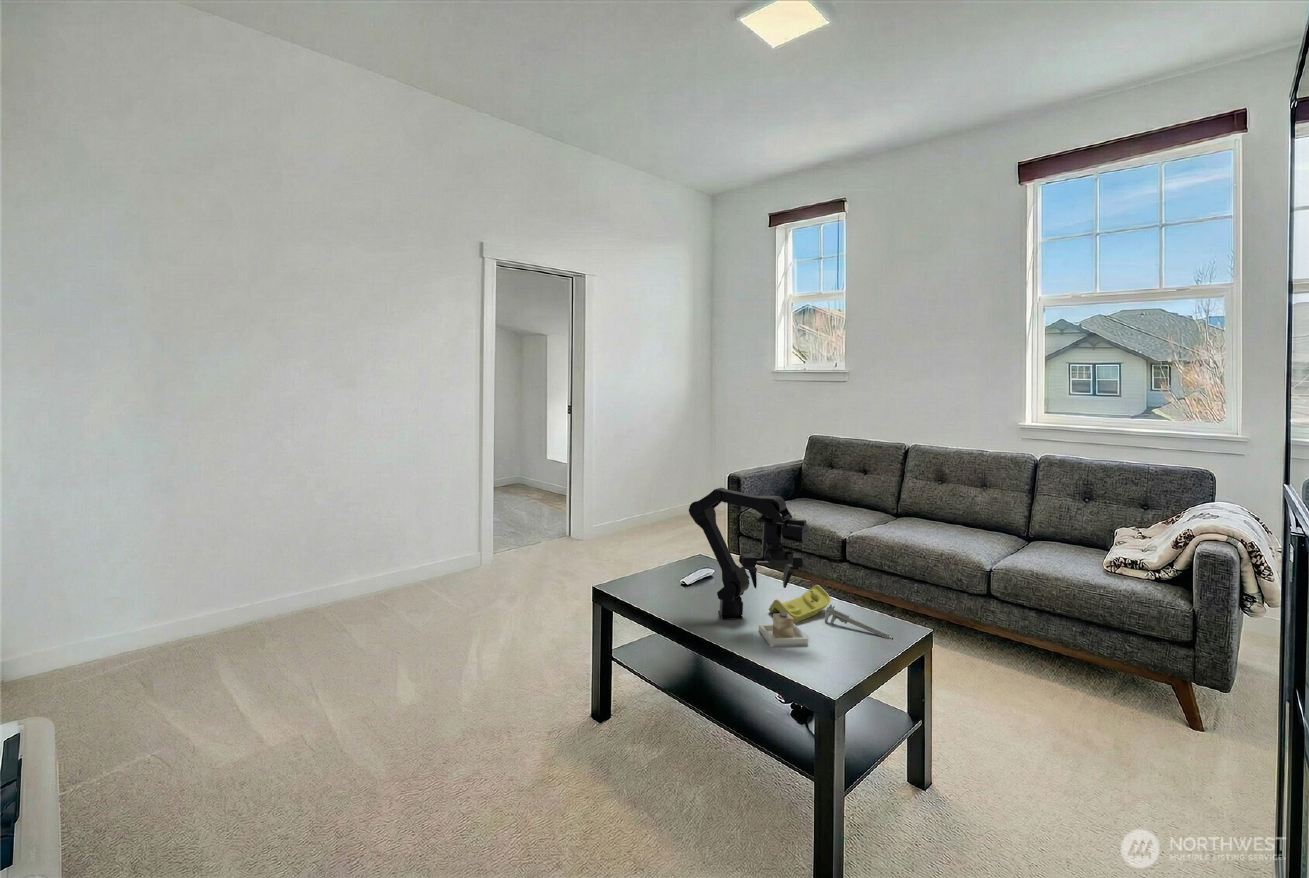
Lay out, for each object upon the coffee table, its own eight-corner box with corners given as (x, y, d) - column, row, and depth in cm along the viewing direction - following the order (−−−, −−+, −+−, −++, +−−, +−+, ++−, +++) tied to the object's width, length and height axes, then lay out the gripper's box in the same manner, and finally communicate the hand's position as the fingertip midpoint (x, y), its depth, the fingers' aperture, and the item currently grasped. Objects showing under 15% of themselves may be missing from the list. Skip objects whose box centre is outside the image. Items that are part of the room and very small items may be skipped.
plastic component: (794, 618, 184) (773, 596, 191) (787, 635, 188) (766, 612, 194) (836, 601, 195) (814, 581, 202) (828, 617, 199) (807, 597, 205)
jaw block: (777, 639, 172) (778, 615, 171) (772, 633, 176) (773, 610, 176) (792, 639, 172) (793, 615, 172) (787, 632, 177) (788, 609, 176)
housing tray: (770, 646, 168) (770, 639, 168) (758, 631, 179) (758, 624, 179) (807, 645, 170) (808, 638, 169) (793, 629, 180) (794, 623, 180)
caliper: (824, 623, 187) (825, 603, 186) (825, 622, 188) (826, 602, 187) (892, 640, 175) (893, 619, 174) (893, 639, 176) (894, 618, 175)
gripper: (749, 544, 172) (746, 597, 174) (811, 545, 174) (808, 597, 176) (739, 535, 183) (737, 584, 185) (798, 535, 185) (796, 584, 187)
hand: (769, 587), depth 183 cm, fingers open, 9 cm apart
